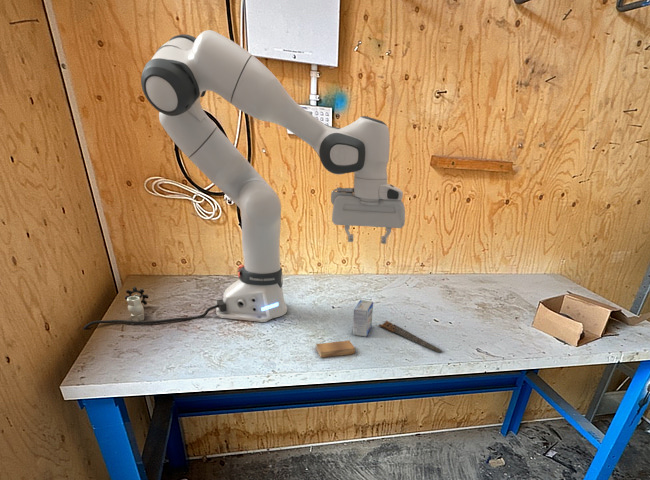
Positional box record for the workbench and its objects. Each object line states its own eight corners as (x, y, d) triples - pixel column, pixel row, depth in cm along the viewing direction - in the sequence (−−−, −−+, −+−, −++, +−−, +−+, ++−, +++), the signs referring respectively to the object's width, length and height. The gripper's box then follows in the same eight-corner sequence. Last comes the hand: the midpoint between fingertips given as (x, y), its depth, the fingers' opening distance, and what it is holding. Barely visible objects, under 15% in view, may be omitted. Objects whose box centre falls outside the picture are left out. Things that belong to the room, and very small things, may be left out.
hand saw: (446, 348, 131) (447, 346, 130) (438, 353, 128) (438, 351, 127) (386, 321, 143) (386, 320, 143) (377, 325, 140) (377, 323, 140)
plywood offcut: (321, 357, 120) (321, 352, 119) (316, 349, 124) (316, 343, 123) (354, 353, 123) (355, 348, 122) (349, 345, 127) (349, 340, 126)
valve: (150, 320, 131) (150, 305, 140) (145, 300, 127) (146, 285, 136) (125, 322, 128) (127, 307, 137) (120, 301, 125) (122, 287, 134)
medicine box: (366, 337, 133) (368, 310, 128) (352, 335, 133) (353, 308, 128) (371, 326, 139) (373, 301, 134) (358, 324, 140) (359, 299, 135)
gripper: (330, 188, 112) (330, 243, 120) (408, 193, 114) (403, 247, 122) (331, 184, 117) (330, 237, 125) (405, 189, 119) (400, 241, 127)
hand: (367, 242), depth 124 cm, fingers open, 8 cm apart
